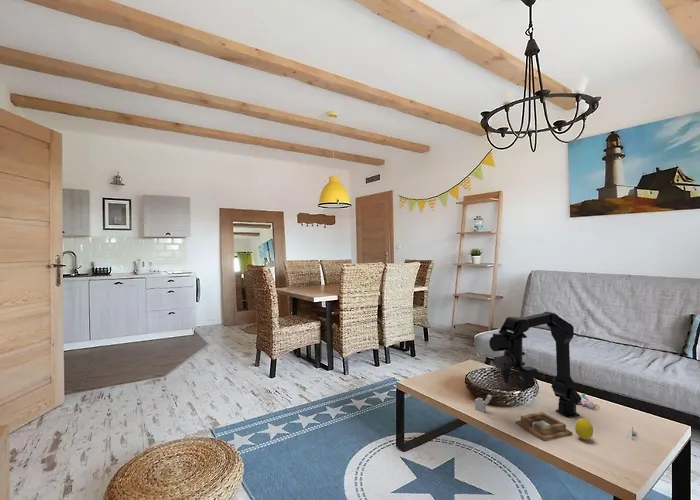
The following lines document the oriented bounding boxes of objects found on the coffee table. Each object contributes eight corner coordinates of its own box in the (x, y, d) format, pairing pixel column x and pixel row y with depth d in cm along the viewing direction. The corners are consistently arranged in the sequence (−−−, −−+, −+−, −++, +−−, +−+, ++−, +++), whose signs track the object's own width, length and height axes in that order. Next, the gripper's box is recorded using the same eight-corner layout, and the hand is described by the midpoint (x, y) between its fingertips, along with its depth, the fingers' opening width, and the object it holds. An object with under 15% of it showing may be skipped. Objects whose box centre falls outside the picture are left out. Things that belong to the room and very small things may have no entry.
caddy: (542, 418, 150) (542, 410, 150) (572, 434, 137) (572, 425, 136) (515, 423, 145) (515, 414, 145) (543, 441, 132) (543, 431, 132)
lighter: (474, 409, 158) (474, 391, 158) (476, 408, 159) (476, 390, 159) (490, 414, 153) (490, 396, 153) (492, 413, 154) (492, 395, 154)
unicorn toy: (600, 411, 160) (564, 394, 172) (602, 398, 159) (567, 383, 171) (594, 415, 156) (558, 397, 168) (596, 402, 155) (560, 385, 167)
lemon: (593, 445, 129) (593, 423, 129) (575, 441, 132) (575, 419, 132) (592, 438, 134) (592, 417, 134) (575, 434, 137) (575, 413, 137)
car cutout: (643, 445, 130) (644, 432, 130) (621, 438, 135) (621, 426, 135) (644, 429, 142) (645, 418, 142) (623, 423, 146) (623, 413, 146)
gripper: (482, 344, 151) (482, 381, 152) (515, 357, 134) (515, 399, 134) (504, 342, 155) (504, 378, 155) (539, 354, 137) (539, 395, 137)
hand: (514, 387), depth 145 cm, fingers open, 9 cm apart
